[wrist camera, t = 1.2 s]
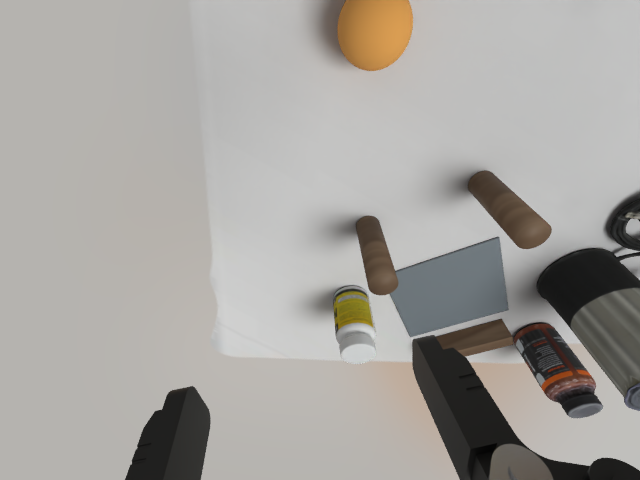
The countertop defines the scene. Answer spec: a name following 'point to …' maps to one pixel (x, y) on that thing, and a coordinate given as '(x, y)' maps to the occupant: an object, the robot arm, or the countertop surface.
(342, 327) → the supplement bottle
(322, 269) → the countertop surface
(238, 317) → the countertop surface
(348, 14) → the ball
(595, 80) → the countertop surface
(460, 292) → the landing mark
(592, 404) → the supplement bottle
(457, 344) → the rail
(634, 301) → the milk frother
